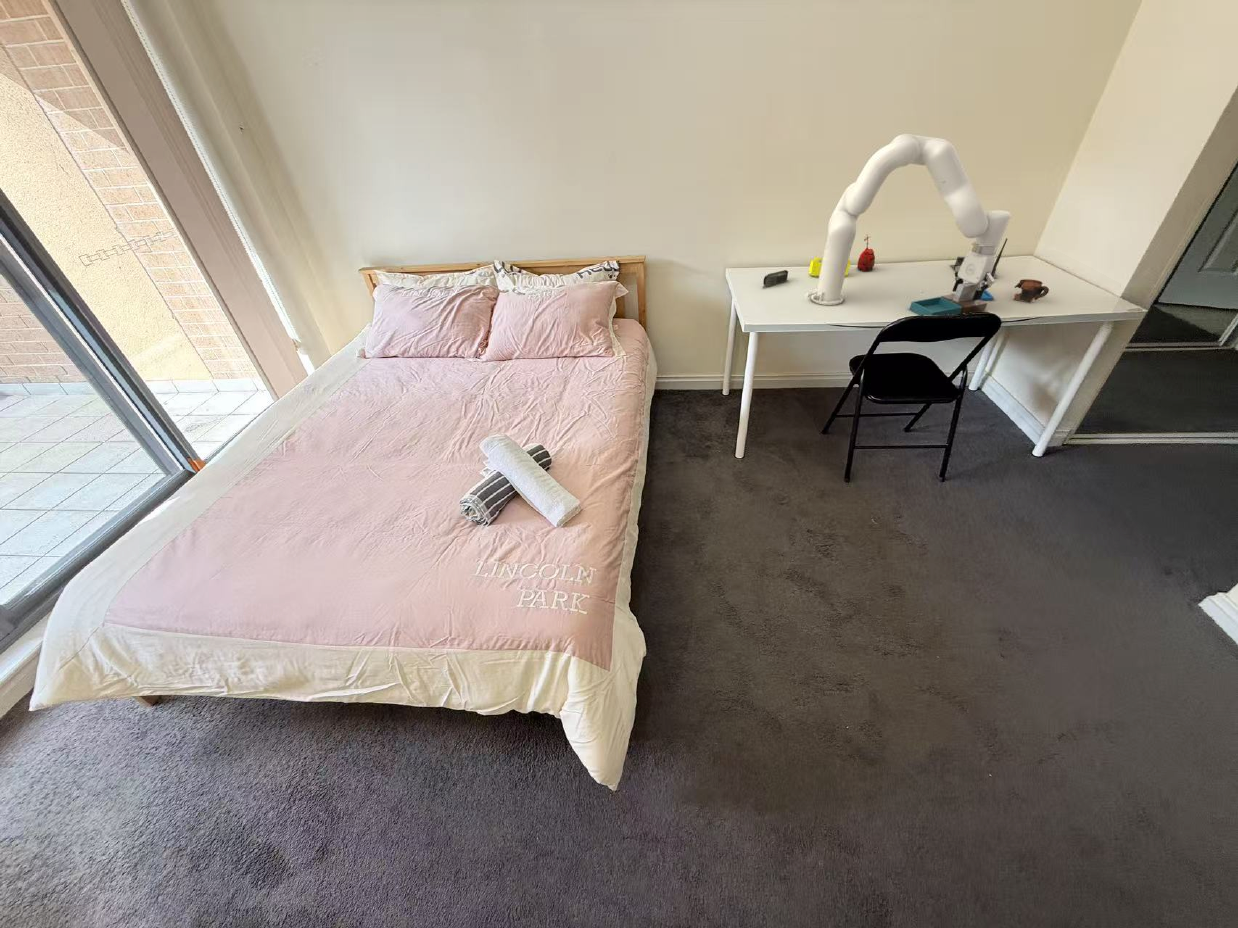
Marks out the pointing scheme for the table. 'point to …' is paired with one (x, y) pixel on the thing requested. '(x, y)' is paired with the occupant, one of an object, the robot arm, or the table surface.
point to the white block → (965, 292)
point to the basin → (935, 307)
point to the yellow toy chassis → (816, 267)
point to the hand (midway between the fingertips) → (965, 295)
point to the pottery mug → (1030, 290)
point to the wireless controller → (961, 259)
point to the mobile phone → (775, 278)
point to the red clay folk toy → (866, 259)
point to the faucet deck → (968, 304)
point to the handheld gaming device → (986, 296)
